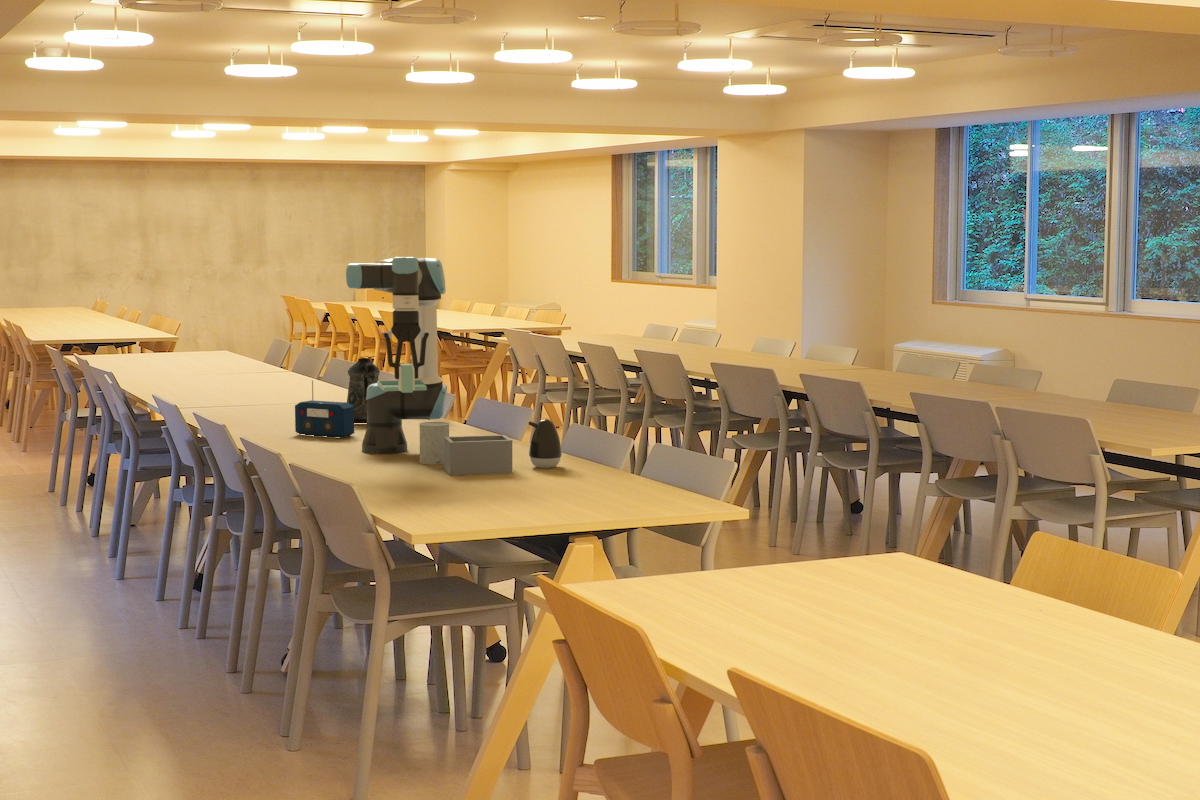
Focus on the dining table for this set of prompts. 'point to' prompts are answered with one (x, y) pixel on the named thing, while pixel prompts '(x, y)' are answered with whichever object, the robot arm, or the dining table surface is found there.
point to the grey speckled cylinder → (433, 442)
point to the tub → (477, 455)
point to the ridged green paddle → (403, 382)
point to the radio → (324, 418)
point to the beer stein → (361, 387)
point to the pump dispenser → (545, 445)
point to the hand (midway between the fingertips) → (406, 389)
